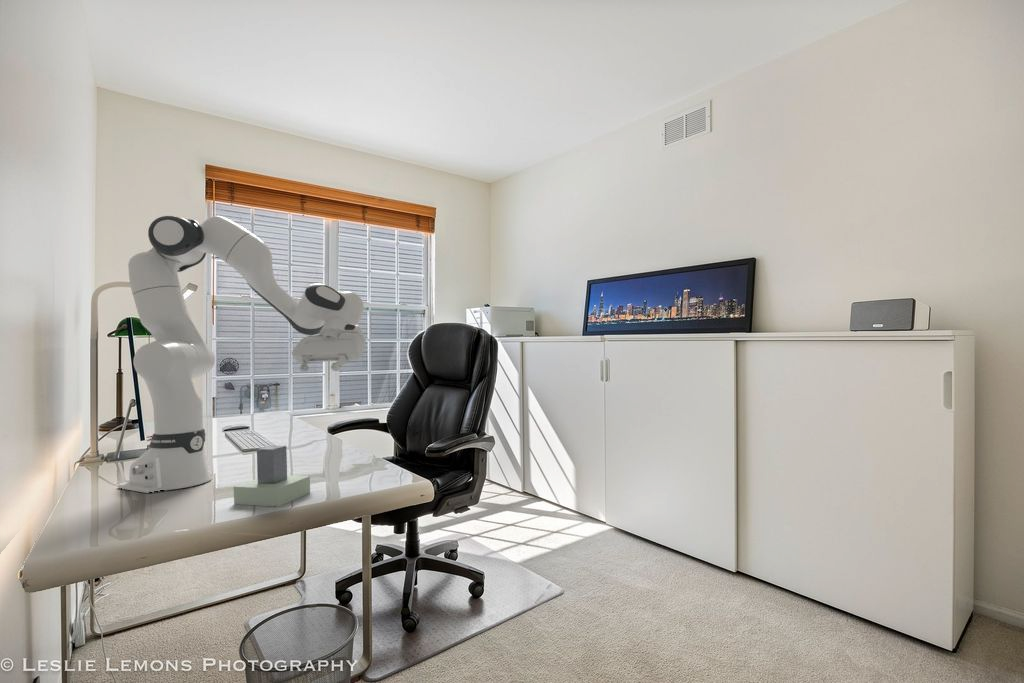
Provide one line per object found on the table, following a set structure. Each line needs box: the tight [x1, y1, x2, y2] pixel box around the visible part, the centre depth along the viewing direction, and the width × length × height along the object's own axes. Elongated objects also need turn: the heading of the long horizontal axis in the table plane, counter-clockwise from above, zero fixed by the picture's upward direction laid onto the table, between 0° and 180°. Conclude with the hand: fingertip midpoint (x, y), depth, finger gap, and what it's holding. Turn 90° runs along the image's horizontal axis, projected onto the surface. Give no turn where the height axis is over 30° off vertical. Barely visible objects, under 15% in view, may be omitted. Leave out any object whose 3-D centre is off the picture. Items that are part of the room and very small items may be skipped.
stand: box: [233, 474, 311, 508], centre depth 119 cm, size 12×11×4 cm
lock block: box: [256, 444, 288, 484], centre depth 119 cm, size 4×4×8 cm
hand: (318, 370), depth 138 cm, fingers open, 8 cm apart
